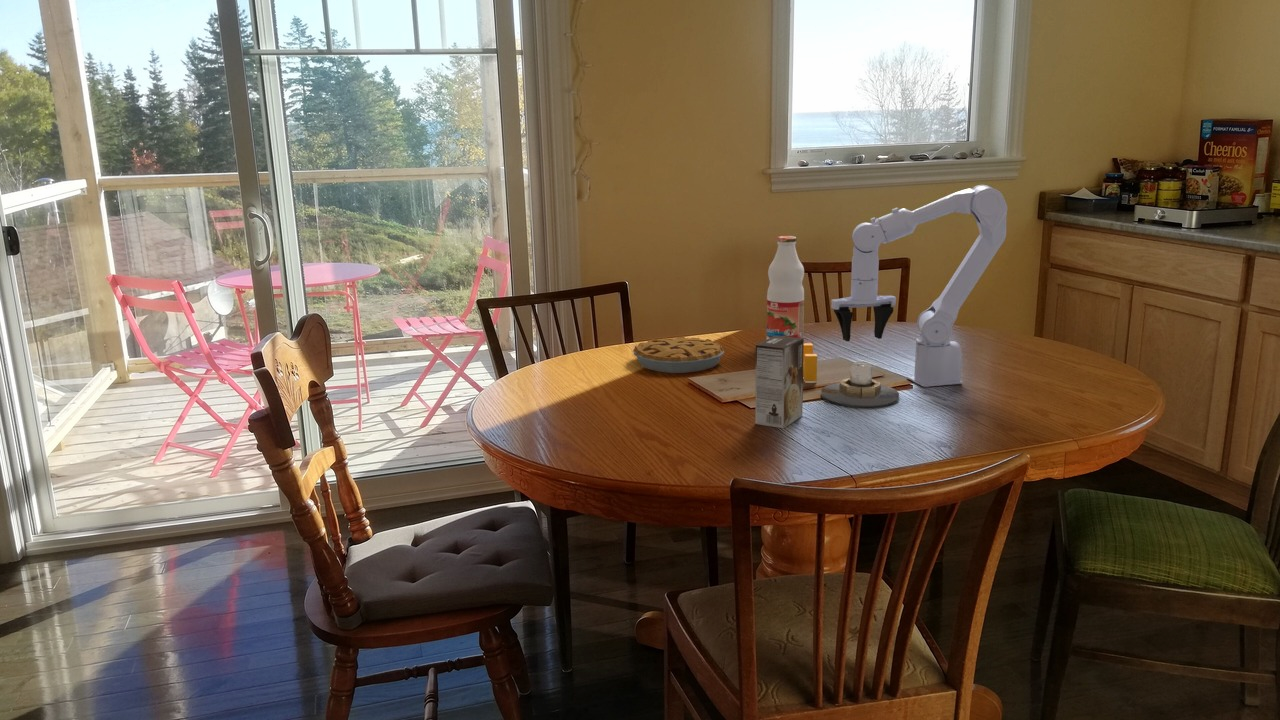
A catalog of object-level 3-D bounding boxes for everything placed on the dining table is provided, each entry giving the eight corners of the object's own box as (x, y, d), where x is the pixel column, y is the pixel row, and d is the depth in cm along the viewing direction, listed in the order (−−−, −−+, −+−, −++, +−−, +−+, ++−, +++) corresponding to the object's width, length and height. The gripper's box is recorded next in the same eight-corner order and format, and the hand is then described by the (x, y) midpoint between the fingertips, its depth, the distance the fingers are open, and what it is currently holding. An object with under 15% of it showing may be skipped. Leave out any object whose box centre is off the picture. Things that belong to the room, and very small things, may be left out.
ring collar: (877, 383, 212) (877, 370, 211) (912, 404, 197) (913, 390, 196) (809, 389, 208) (809, 376, 208) (840, 410, 193) (841, 396, 193)
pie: (742, 365, 230) (742, 344, 229) (669, 380, 218) (668, 359, 217) (687, 348, 248) (686, 329, 247) (616, 361, 236) (615, 341, 235)
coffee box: (773, 411, 194) (774, 334, 190) (803, 416, 191) (805, 337, 186) (754, 424, 186) (754, 344, 182) (784, 429, 183) (786, 347, 179)
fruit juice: (810, 345, 247) (813, 236, 240) (784, 351, 242) (787, 240, 235) (784, 338, 255) (786, 233, 248) (758, 344, 249) (760, 237, 242)
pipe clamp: (792, 370, 225) (793, 343, 223) (811, 370, 225) (812, 343, 223) (796, 384, 213) (797, 356, 212) (816, 384, 213) (817, 356, 212)
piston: (869, 389, 204) (870, 362, 202) (872, 395, 200) (873, 367, 198) (848, 389, 204) (849, 362, 203) (851, 395, 200) (852, 367, 199)
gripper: (886, 273, 215) (883, 332, 218) (826, 277, 212) (824, 337, 215) (901, 278, 208) (898, 339, 211) (839, 282, 205) (837, 344, 208)
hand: (862, 339), depth 213 cm, fingers open, 7 cm apart
